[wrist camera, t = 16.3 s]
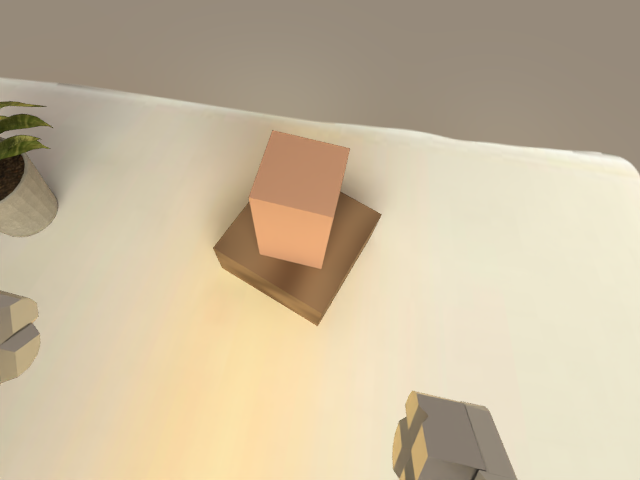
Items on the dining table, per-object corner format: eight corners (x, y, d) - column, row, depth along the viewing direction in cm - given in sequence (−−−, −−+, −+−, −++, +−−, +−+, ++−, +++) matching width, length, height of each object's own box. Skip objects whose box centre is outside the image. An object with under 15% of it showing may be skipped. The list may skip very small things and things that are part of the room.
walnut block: (222, 268, 35) (213, 248, 30) (282, 189, 39) (282, 159, 34) (317, 326, 33) (322, 314, 29) (369, 238, 37) (381, 214, 33)
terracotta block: (259, 254, 30) (248, 197, 22) (276, 200, 32) (272, 130, 24) (321, 269, 30) (333, 217, 22) (334, 214, 32) (350, 148, 24)
